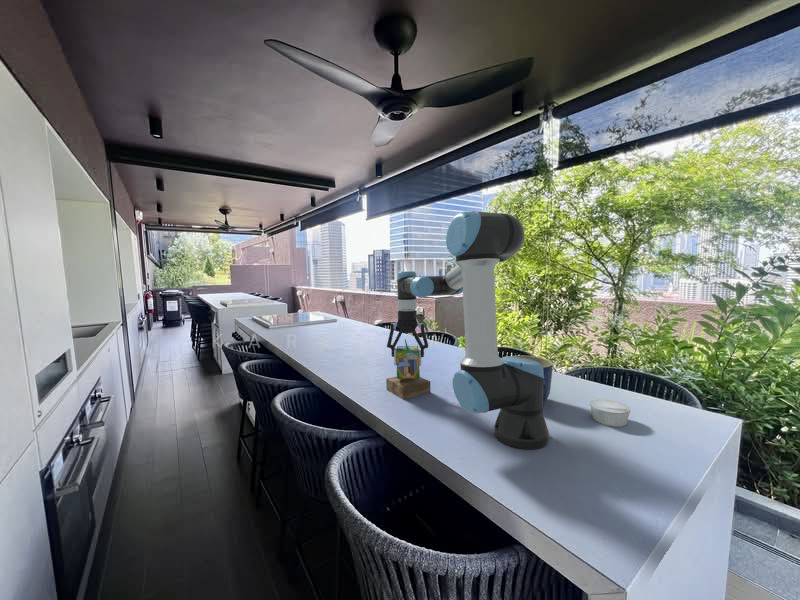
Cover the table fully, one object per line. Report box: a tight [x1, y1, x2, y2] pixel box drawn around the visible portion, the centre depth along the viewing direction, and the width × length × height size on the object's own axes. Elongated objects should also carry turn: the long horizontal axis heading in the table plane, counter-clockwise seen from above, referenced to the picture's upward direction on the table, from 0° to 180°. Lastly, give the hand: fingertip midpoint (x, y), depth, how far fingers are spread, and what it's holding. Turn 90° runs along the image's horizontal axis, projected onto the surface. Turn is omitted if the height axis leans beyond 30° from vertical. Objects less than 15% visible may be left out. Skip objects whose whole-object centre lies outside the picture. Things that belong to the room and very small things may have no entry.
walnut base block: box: [385, 376, 431, 400], centre depth 140 cm, size 13×13×5 cm
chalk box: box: [396, 339, 421, 379], centre depth 139 cm, size 9×9×15 cm
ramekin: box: [589, 398, 631, 428], centre depth 110 cm, size 11×11×5 cm
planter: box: [510, 355, 554, 403], centre depth 127 cm, size 17×17×15 cm
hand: (407, 364), depth 139 cm, fingers closed on chalk box, 9 cm apart
